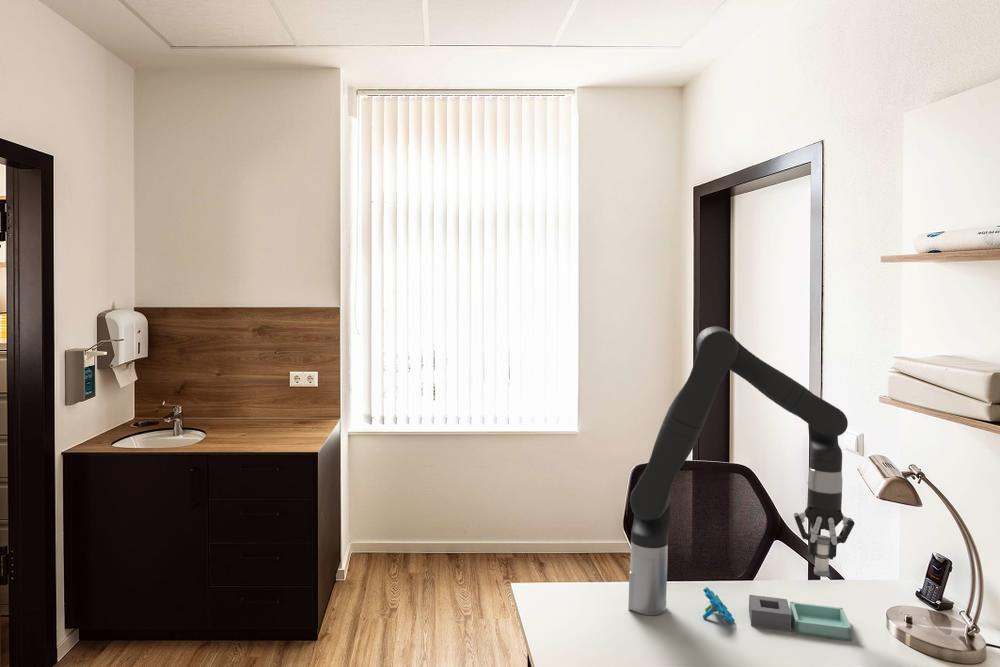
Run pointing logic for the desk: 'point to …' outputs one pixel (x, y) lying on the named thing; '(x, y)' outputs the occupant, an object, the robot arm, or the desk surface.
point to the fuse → (822, 556)
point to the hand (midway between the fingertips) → (822, 557)
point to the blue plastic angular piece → (716, 606)
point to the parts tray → (820, 621)
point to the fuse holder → (769, 612)
